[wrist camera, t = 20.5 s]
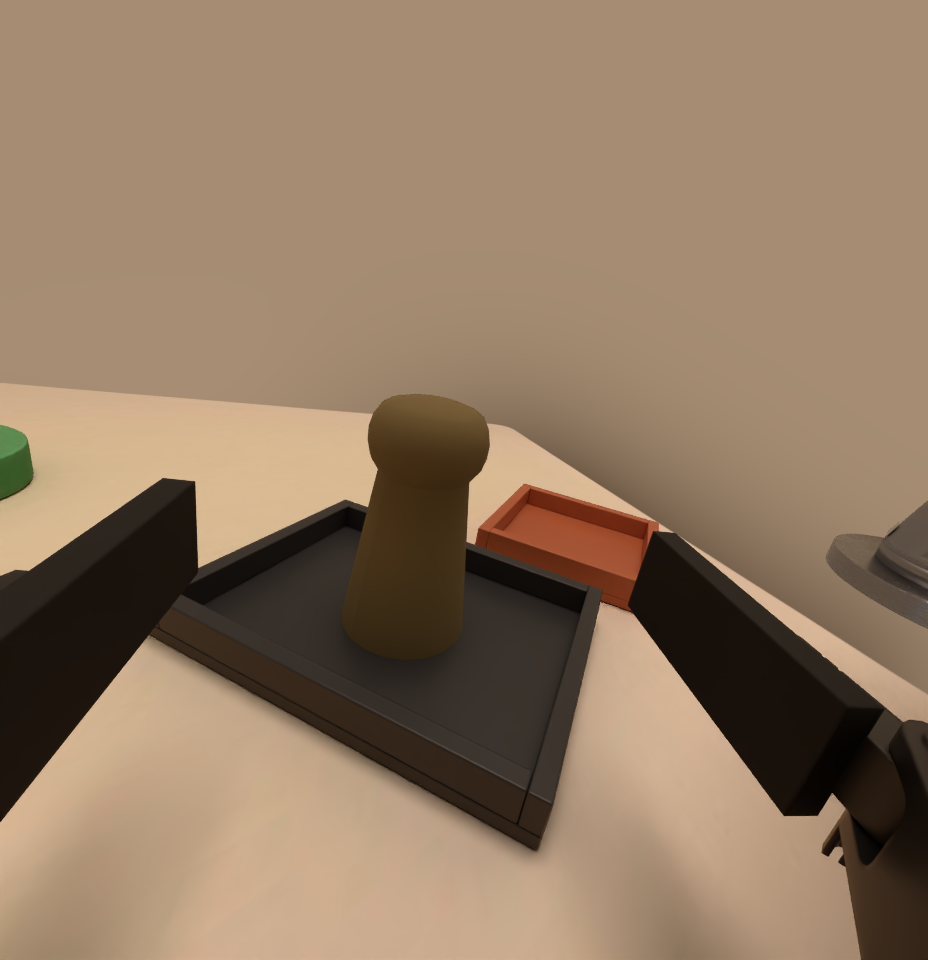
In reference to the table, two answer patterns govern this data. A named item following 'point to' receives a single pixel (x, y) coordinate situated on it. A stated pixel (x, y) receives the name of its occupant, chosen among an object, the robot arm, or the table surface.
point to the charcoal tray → (404, 665)
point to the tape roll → (14, 461)
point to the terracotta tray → (571, 539)
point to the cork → (415, 527)
